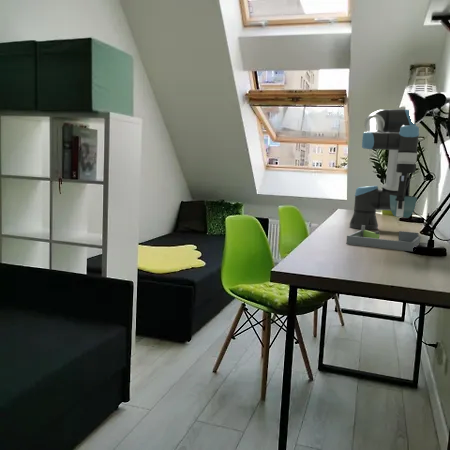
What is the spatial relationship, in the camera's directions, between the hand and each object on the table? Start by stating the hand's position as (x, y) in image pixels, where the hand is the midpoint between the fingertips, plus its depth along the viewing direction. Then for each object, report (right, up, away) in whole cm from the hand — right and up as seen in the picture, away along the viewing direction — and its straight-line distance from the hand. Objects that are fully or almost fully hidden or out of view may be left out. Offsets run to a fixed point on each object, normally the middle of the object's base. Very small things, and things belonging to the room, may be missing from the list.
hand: (401, 215), depth 201 cm
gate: (-9, -11, +13) cm, 19 cm away
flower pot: (0, -1, 0) cm, 1 cm away
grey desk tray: (-6, -12, +6) cm, 15 cm away
